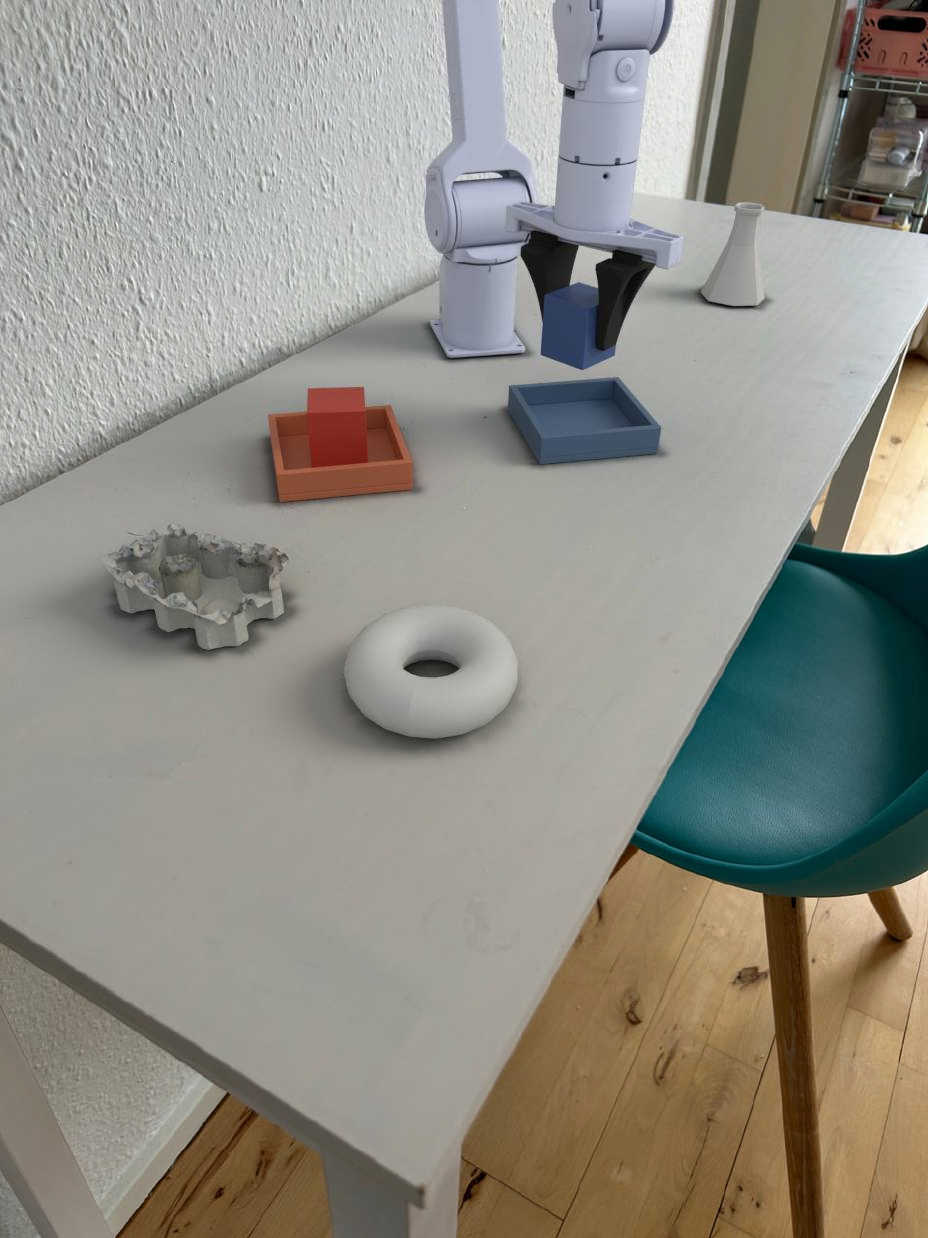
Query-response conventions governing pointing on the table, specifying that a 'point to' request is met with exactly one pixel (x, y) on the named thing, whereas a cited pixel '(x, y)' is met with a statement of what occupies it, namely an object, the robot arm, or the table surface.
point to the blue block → (572, 327)
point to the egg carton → (199, 583)
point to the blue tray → (582, 420)
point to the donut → (424, 699)
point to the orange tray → (303, 482)
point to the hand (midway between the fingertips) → (580, 338)
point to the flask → (738, 262)
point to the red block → (337, 426)
